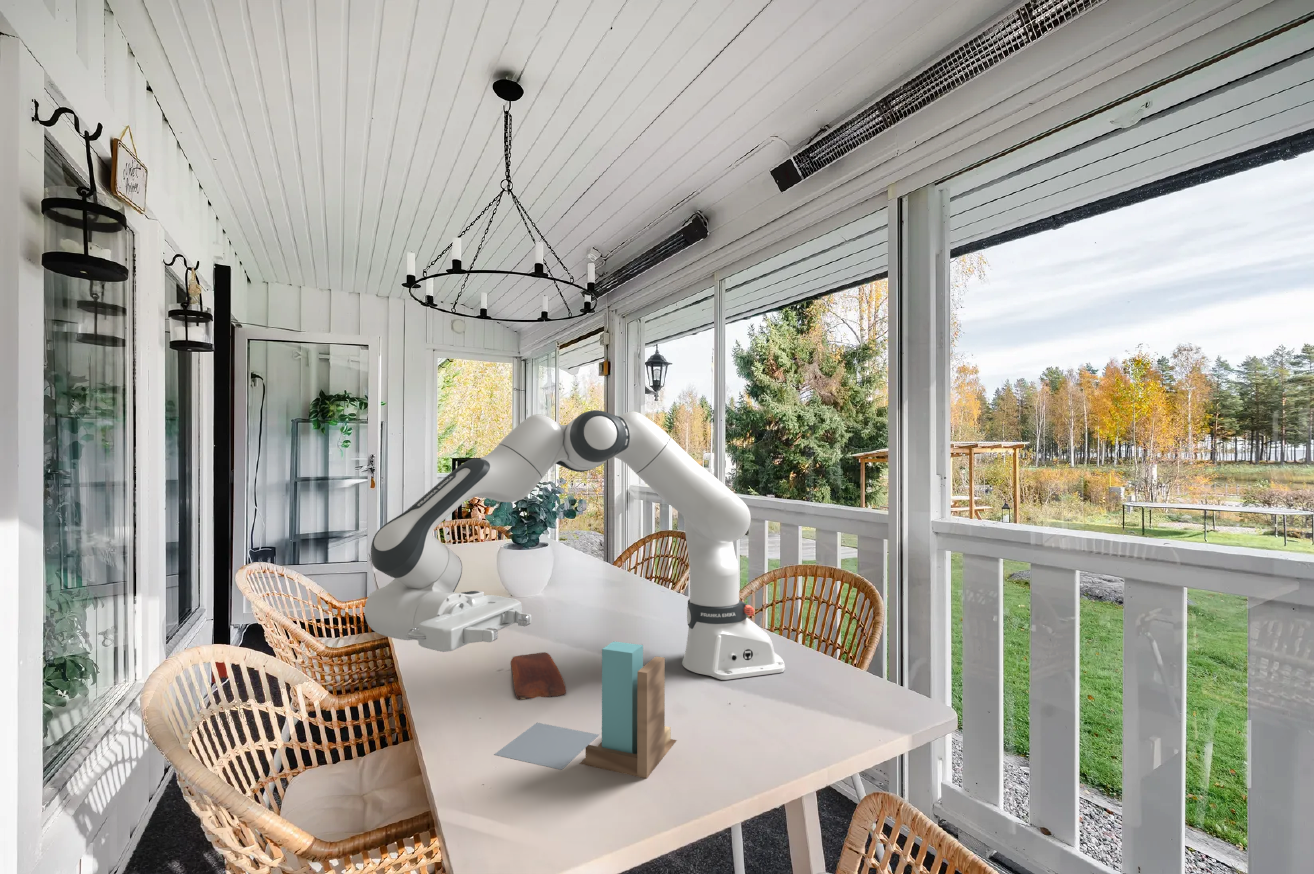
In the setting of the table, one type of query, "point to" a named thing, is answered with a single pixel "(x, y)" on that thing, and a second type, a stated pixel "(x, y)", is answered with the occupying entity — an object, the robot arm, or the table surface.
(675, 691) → the table surface
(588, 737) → the slate mat
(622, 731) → the tall teal block
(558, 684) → the wooden tablet
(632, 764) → the walnut rack
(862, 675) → the table surface
